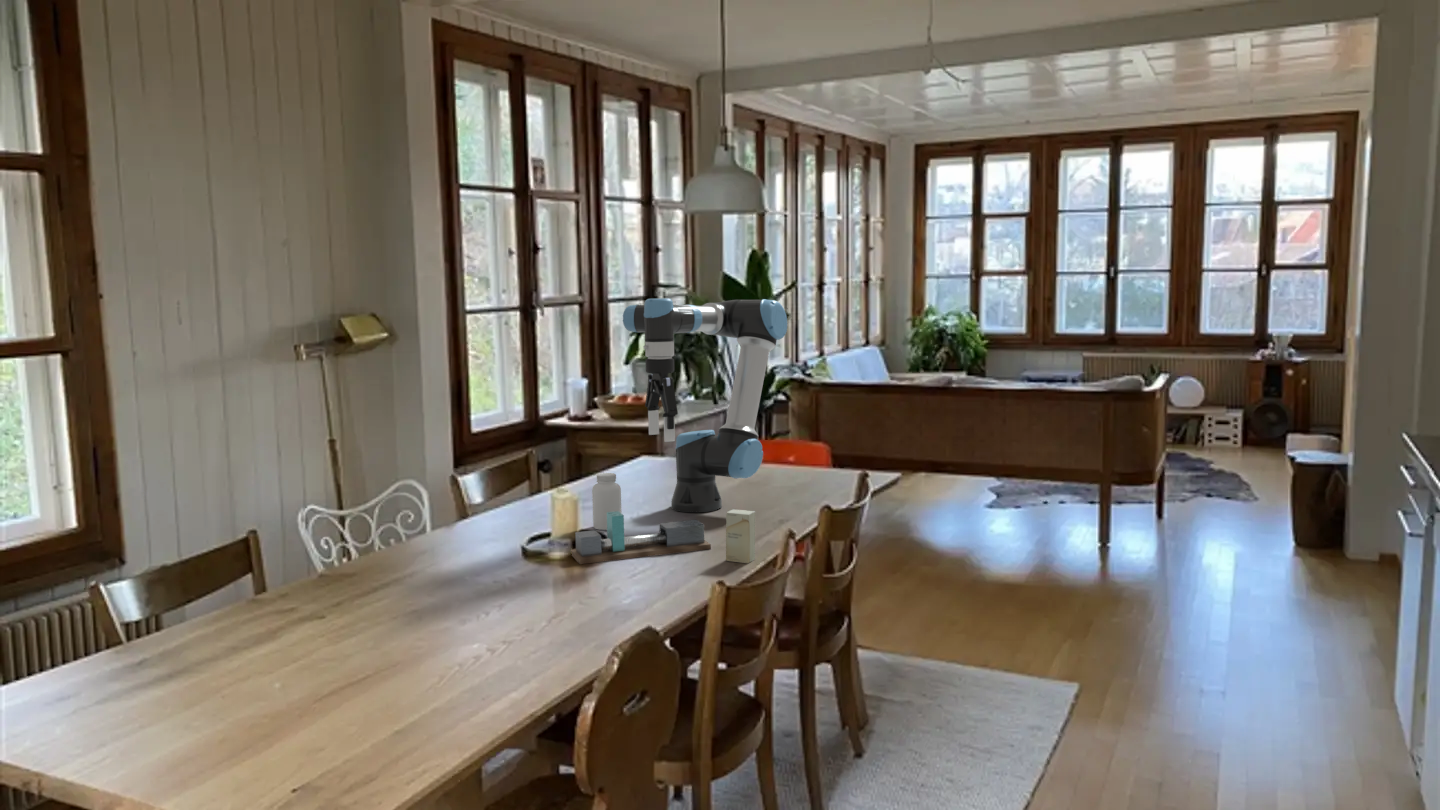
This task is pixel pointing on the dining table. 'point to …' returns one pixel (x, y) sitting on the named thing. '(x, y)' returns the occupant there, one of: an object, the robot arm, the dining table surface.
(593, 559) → the board
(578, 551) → the grey cube
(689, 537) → the sleeve
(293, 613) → the dining table surface
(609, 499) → the pill bottle
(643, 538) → the sliding bolt
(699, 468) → the robot arm
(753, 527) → the skincare box
